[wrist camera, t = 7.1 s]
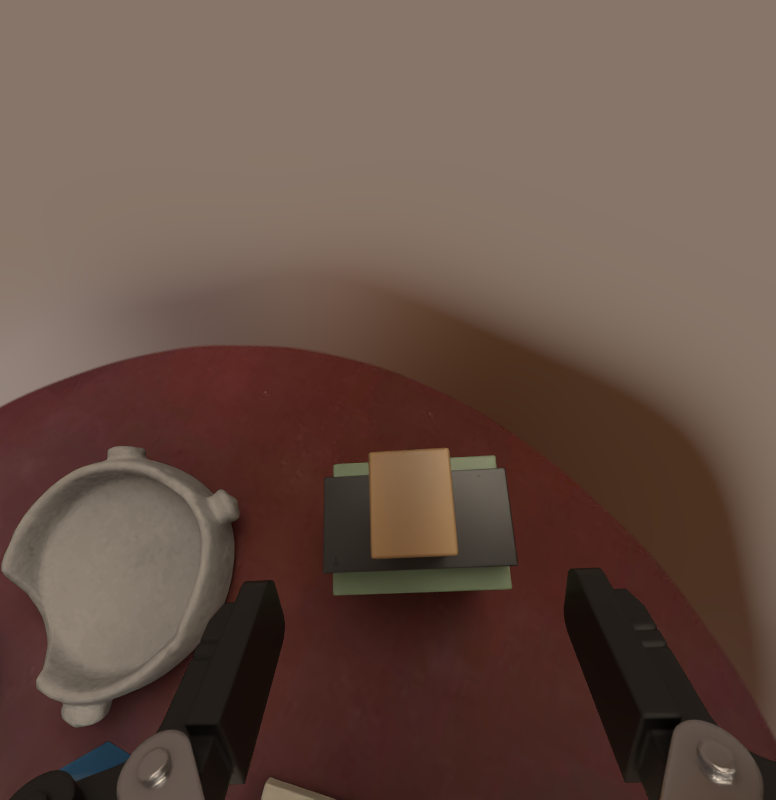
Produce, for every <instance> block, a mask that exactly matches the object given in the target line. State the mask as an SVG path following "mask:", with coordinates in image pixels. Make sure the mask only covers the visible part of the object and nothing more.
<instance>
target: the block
mask: <svg viewBox="0 0 776 800" xmlns="http://www.w3.org/2000/svg"><path fill="white" fill-rule="evenodd" d="M450 464H451V471H453V470H472V469H491V468H497V466H496V458H495V456H494V455H493V456H475V457H457V458H450ZM361 475H369V462H367V463H349V464H335V465H334V477H342V476H361ZM502 589H512V584H511V576H510V568H509V566H502V567H476V568H451V569H425V570H399V571H374V572H348V573H333V595H361V594H389V593H417V592H445V591H474V590H502Z"/></svg>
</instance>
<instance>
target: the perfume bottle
mask: <svg viewBox="0 0 776 800" xmlns="http://www.w3.org/2000/svg"><path fill="white" fill-rule="evenodd" d="M129 757H130V754H128V753H127V752H125V751H123V750H122V749H120V748H119V747H117V746H115V745H114V744H112V743H111V742H109V741H108V742H106V743H104V744H103V745H101V746H99V747H97V748H96V749H94V750H92V751H91V752H89V753H87V754H85V755H84V756H82V757H80V758H79V759H77V760H75V761H74V762H72V763H70V764H68V765H67V766H65V767H63V768H62V769H60V770H62V771H66V772H67V773H69V774H70V775H71V776H72V778H73V779H74V780H75V781H78V780H80V779H83V778H85V777H88V776H91V775H93V774H96V773H99V772H101V771H104V770H106V769H109V768H112V767H114V766H117V765H119V764H121V763H123V762H125V761H127V760H128V758H129Z"/></svg>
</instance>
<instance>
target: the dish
mask: <svg viewBox="0 0 776 800" xmlns="http://www.w3.org/2000/svg"><path fill="white" fill-rule="evenodd" d="M239 515H240V513H239V508H238V502H237V499H235V498H234V497H232V496H230V495H229V494H228V493H227V492H226V491H224V490H223V489H220V490H218V491H217V492H216V493H215V494H213V493H212V492H211V491H210V490H209V489H208V488H207V487H206V486H205V485H204V484H202V483H201V482H200V481H198V480H197V479H196V478H194V477H193V476H191V475H189V474H187V473H186V472H184V471H182V470H180V469H177V468H175V467H173V466H170V465H166V464H163V463H160V462H157V461H152V460H149V459H147V458H146V451H145V450H144V449H143V448H136V447H131V446H118V447H113V448H110V449H109V450H108V458H107V460H105V461H103V462H99V463H94V464H91V465H88V466H85V467H82V468H79V469H77V470H75V471H73V472H71V473H70V474H68V475H66V476H65V477H63V478H62V479H60V480H59V481H58V482H57V483H55V484H54V485H53V486H51V487H50V488H49V489H48V490H47V491H46V492H45V493H44V494H43V495H42V496H41V497H40V498H39V499H38V500H37V501H36V502H35V503H34V504H33V506H32V507H31V508H30V509H29V510H28V512H27V513H26V514H25V516H24V517H23V519H22V520H21V522H20V523H19V525H18V527H17V528H16V530H15V532H14V534H13V537H12V539H11V542H10V545H9V546H8V548H7V550H6V552H5V555H4V558H3V561H2V567H1V570H2V572H3V574H4V575H5V576H6V577H7V578H8V579H9V580H11V581H12V582H13V583H14V584H16V585H17V586H19V587H20V588H21V589H22V590H24V591H25V592H26V593H27V594H28V595H29V597H30V598H31V600H32V601H33V602H34V604H35V605H36V607H37V608H38V610H39V612H40V613H41V616H42V618H43V620H44V624H45V628H46V633H47V643H48V647H47V652H46V658H45V663H44V667H43V670H42V672H41V673H40V674H39V676H38V678H37V679H36V686H37V689H38V690H39V691H41V692H42V693H43V694H45V695H46V696H48V697H49V698H51V699H54V700H57V701H59V702H62V703H63V706H62V709H61V717H62V718H63V719H64V720H65V721H66V722H67V723H68V724H70V725H71V726H73V727H83V726H88V725H92V724H95V723H97V722H99V721H100V720H102V719H103V718H104V717H105V716H106V715H107V714H108V712H109V710H110V708H111V704H112V700H113V699H114V698H117V697H120V696H123V695H125V694H128V693H130V692H133V691H135V690H138V689H140V688H142V687H144V686H146V685H148V684H150V683H152V682H154V681H155V680H157V679H158V678H160V677H162V676H163V675H165V674H166V673H167V672H169V671H170V670H171V669H173V668H174V667H175V666H177V665H178V664H179V663H180V662H181V661H183V660H184V659H185V658H186V657H187V656H188V655H189V654H190V653H191V652H192V651H193V650H194V649H195V648H196V647H197V646H198V644H200V641H201V640H200V639H201V637H202V635H203V633H204V631H205V628H206V626H207V624H208V622H209V620H210V619H211V618H212V617H213V615H214V614H215V613H216V612H217V611H218V610H219V609H220V607H221V606H222V605H223V604H224V603H225V600H226V597H227V594H228V592H229V587H230V583H231V579H232V573H233V565H234V546H235V542H234V535H233V529H232V525H231V522H233V521H236V520H237V519H238V518H239Z"/></svg>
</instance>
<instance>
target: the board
mask: <svg viewBox="0 0 776 800" xmlns="http://www.w3.org/2000/svg"><path fill="white" fill-rule="evenodd" d="M261 800H336V799H333V798H330V797H327V796H324V795H321V794H319V793H316V792H313V791H310V790H307V789H304V788H301V787H298V786H295V785H292V784H289V783H286V782H283V781H280V780H277V779H274V778H271V777H270V778H269V779H268V780H267V782H266V783H265V786H264V789H263V793H262V797H261Z"/></svg>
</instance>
